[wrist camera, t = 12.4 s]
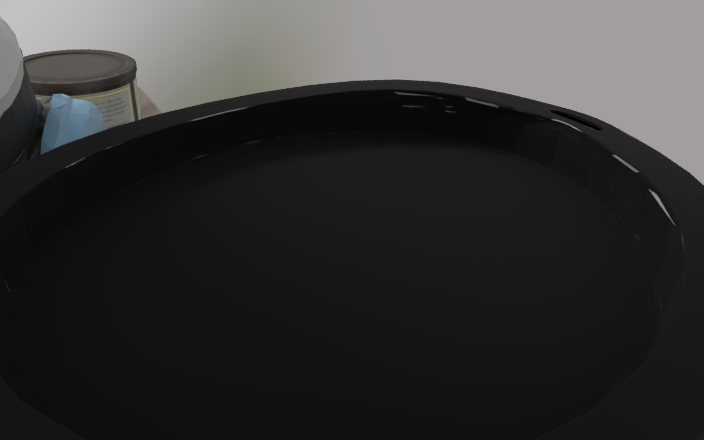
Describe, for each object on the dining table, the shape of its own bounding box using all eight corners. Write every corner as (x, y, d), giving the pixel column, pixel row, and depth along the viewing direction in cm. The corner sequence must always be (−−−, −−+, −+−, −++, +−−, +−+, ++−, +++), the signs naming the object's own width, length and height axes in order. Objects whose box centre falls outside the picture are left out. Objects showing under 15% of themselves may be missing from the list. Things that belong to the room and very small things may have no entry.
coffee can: (17, 211, 55) (-22, 62, 48) (112, 176, 63) (90, 43, 56) (81, 249, 50) (47, 90, 43) (176, 206, 58) (161, 64, 51)
